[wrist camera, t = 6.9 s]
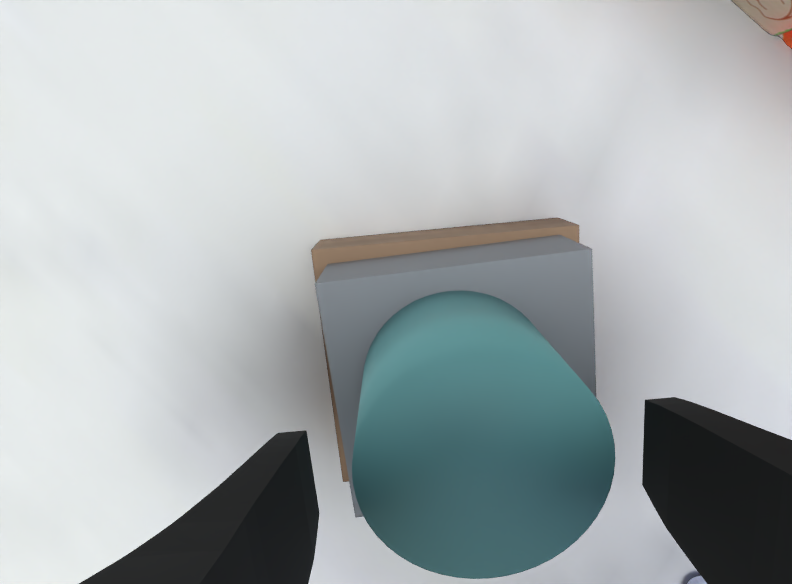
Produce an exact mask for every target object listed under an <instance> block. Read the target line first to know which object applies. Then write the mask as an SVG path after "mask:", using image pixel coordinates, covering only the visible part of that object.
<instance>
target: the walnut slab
mask: <svg viewBox="0 0 792 584" xmlns="http://www.w3.org/2000/svg"><path fill="white" fill-rule="evenodd" d="M552 235H562V236H564V237H566V238H569V239H571V240H573V241H575V242H578V243H579V225H577V224H574V223H571V222H568V221H566V220H563V219H560V218H550V219H539V220H528V221H518V222H507V223H496V224H486V225H475V226H464V227H453V228H443V229H432V230H421V231H411V232H400V233H389V234H379V235H368V236H357V237H347V238H336V239H325V240H320V241H319V242H318V243H317V244H316V245H315V246H314V248H313V249H312V250H311V252H312V260H313V267H314V274H315V281H317V280H318V278H319V277H320V275H321V273H322V272H323V270H324V269H325V267H326V266H327V264H331V263H339V262H347V261H355V260H363V259H371V258H379V257H387V256H395V255H402V254H410V253H418V252H426V251H434V250H442V249H450V248H458V247H465V246H473V245H481V244H489V243H497V242H505V241H513V240H521V239H529V238H536V237H544V236H552ZM320 318H321V316H320ZM321 325H322V322H321ZM322 332H323V327H322ZM323 339H324V333H323ZM324 347H325V354H326V361H327V369H328V376H329V383H330V390H331V398H332V405H333V412H334V419H335V427H336V434H337V441H338V448H339V456H340V463H341V470H342V478H343V482H346V481H349V477H348V471H347V465H346V460H345V454H344V448H343V442H342V437H341V431H340V425H339V419H338V414H337V408H336V402H335V396H334V391H333V385H332V379H331V373H330V368H329V362H328V356H327V350H326V345H325V339H324Z"/></svg>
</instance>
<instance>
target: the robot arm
mask: <svg viewBox="0 0 792 584" xmlns="http://www.w3.org/2000/svg"><path fill="white" fill-rule="evenodd" d="M642 485H643V487H644V489H645V490H646V492H647V494H648V496H649V498H650V500H651V502H652V504H653V505H654V507H655V509H656V511H657V513H658V514H659V516H660V518H661V519H662V521H663V523H664V525H665V526H666V528H667V530H668V531H669V532H670V534H671V535H672V537H673V538H674V539H675V541H676V542H677V544H678V545H679V546H680V548H681V549H682V550H683V552H684V553H685V554H686V556H687V557H688V559H689V560H690V561H691V563H692V564H693V565H694V567H695V568H696V569H697V571H698V572H699V573H700V575H701V576H696V577H694V578H692V579H690V581H689V582H688V583H687V584H792V440H790V439H787V438H785V437H782V436H779V435H777V434H774V433H771V432H769V431H766V430H764V429H761V428H758V427H756V426H753V425H751V424H748V423H745V422H743V421H740V420H738V419H735V418H733V417H730V416H727V415H725V414H722V413H720V412H717V411H714V410H712V409H709V408H706V407H704V406H701V405H698V404H695V403H692V402H689V401H686V400H683V399H679V398H675V397H672V398H661V399H650V400H645V416H644V448H643V480H642ZM318 520H319V508H318V502H317V495H316V489H315V483H314V476H313V470H312V464H311V457H310V451H309V445H308V438H307V432H306V431H296V432H285V433H278V434H276V435H275V436H274V437H273V438H271V439H270V440H269V441H268V442H267V443H266V444H265V445H263V446H262V447H261V448H260V449H259V450H258V451H257V452H256V453H255V454H254V455H253V456H251V457H250V458H249V459H248V460H247V461H246V462H245V463H244V464H243V465H242V466H240V467H239V468H238V469H237V470H236V471H235V472H234V473H233V474H232V475H230V476H229V477H228V478H227V479H226V480H225V481H224V482H223V483H222V484H220V485H219V486H218V487H217V488H216V489H214V490H213V491H212V492H211V493H210V494H208V495H207V496H206V497H205V498H203V499H202V500H201V501H200V502H199V503H197V504H196V505H195V506H194V507H192V508H191V509H190V510H189V511H188V512H186V513H185V514H184V515H183V516H181V517H180V518H179V519H177V520H176V521H175V522H174V523H172V524H171V525H169V526H168V527H167V528H165V529H164V530H163V531H161V532H160V533H159V534H157V535H156V536H154V537H153V538H151V539H150V540H148V541H147V542H145V543H144V544H142V545H141V546H140V547H138V548H137V549H135V550H134V551H132V552H131V553H129V554H128V555H126V556H124V557H123V558H121V559H120V560H118V561H116V562H115V563H113V564H111V565H110V566H108V567H106V568H105V569H103V570H101V571H100V572H98V573H96V574H95V575H93V576H91V577H90V578H88V579H86V580H85V581H83V582H81V583H79V584H308V582H309V577H310V573H311V569H312V565H313V560H314V554H315V546H316V538H317V529H318Z"/></svg>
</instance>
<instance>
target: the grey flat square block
mask: <svg viewBox="0 0 792 584" xmlns="http://www.w3.org/2000/svg"><path fill="white" fill-rule="evenodd" d="M315 287H316V293H317V298H318V304H319V310H320V316H321V322H322V327H323V333H324V339H325V345H326V350H327V356H328V362H329V368H330V373H331V379H332V385H333V391H334V396H335V402H336V408H337V414H338V419H339V425H340V431H341V437H342V442H343V448H344V454H345V460H346V465H347V471H348V477H349V483H350V488H351V494H352V500H353V506H354V511H355V517H362V516H363V514H362V512H361V510H360V507H359V504H358V502H357V499H356V496H355V491H354V486H353V480H352V459H353V449H354V442H355V434H356V426H357V418H358V410H359V402H360V394H361V387H362V379H363V371H364V365H365V361H366V356H367V353H368V351H369V348H370V346H371V344H372V342H373V340H374V338H375V337H376V335H377V333H378V332H379V331H380V329H381V328H382V327H383V325H384V324H385V323H386V322H387V321H388V320H389V319H390V318H391V317H392V316H393V315H394V314H396V313H397V312H398V311H399V310H401V309H402V308H403V307H405V306H407V305H409V304H410V303H412V302H414V301H416V300H418V299H421V298H423V297H425V296H429V295H432V294H436V293H440V292H446V291H463V290H464V291H474V292H479V293H484V294H488V295H491V296H494V297H496V298H499V299H501V300H503V301H505V302H507V303H509V304H510V305H512V306H513V307H515V308H516V309H517V310H519V311H520V312H521V313H522V314H523V315H524V316H525V317H527V318H528V319H529V320H530V322H531V323H532V324H533V325H534V326H535V327H536V328H537V330H538V331H539V332H540V333H541V334H542V335H543V336H544V338H545V339H546V340H547V341H548V342H549V343H550V345H551V346H552V347H553V348H554V349H555V350H556V351H557V353H558V354H559V355H560V356H561V357H562V358H563V359H564V361H565V362H566V363H567V364H568V365H569V366H570V367H571V369H572V370H573V371H574V372H575V373H576V374H577V376H578V377H579V378H580V379H581V380H582V381H583V382H584V384H585V385H586V386H587V387H588V388H589V389H590V391H591V392H592V393H593V395H594V396H595V397H596V376H595V341H594V306H593V270H592V249H591V248H589V247H586V246H584V245H582V244H580V243H578V242H575V241H573V240H571V239H569V238H566V237H564V236H562V235H552V236H544V237H536V238H529V239H521V240H513V241H505V242H497V243H489V244H481V245H473V246H465V247H458V248H450V249H442V250H434V251H426V252H418V253H410V254H402V255H395V256H387V257H379V258H371V259H363V260H355V261H347V262H339V263H331V264H327V266H326V267H325V269H324V270H323V272H322V273H321V275H320V277H319V278H318V280H317V281H316V283H315Z"/></svg>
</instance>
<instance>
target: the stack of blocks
mask: <svg viewBox="0 0 792 584" xmlns="http://www.w3.org/2000/svg"><path fill="white" fill-rule="evenodd" d="M732 1H733V2H734V3H735V4H736V5H737V6H738V7H739V8H740V9H741V10H743V11H744V12H745V13H746V14H747V15H748V16H749V17H750V18H752V19H753V20H754V21H755V22H756V23H757V24H759V25H760V26H761V27H762V28H763V29H764V30H765V31H767V32H768V33H769V34H771V35H778V36H779V37H780V38H782V39H783V40H784V42H785V43H786V45H787V46H789V47H790V48H792V0H732Z"/></svg>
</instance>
